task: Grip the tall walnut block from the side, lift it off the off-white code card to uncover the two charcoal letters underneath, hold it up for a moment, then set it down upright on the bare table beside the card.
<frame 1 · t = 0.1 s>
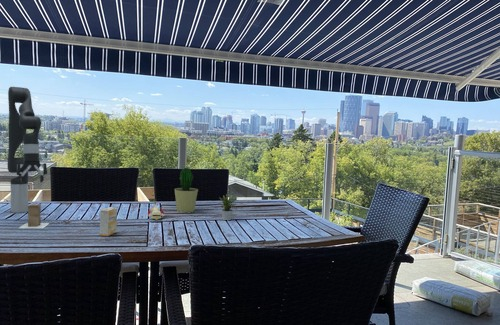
hand: (32, 182, 209), 22 cm above the table, tool pointing down, fingers open, 8 cm apart
cat figure: (155, 216, 241), on the table
walnut block: (34, 225, 205), resting on code card
house plant: (227, 220, 237), on the table
code card: (34, 225, 205), on the table
potted cactus: (185, 211, 258), on the table
supplement box: (108, 234, 196), on the table
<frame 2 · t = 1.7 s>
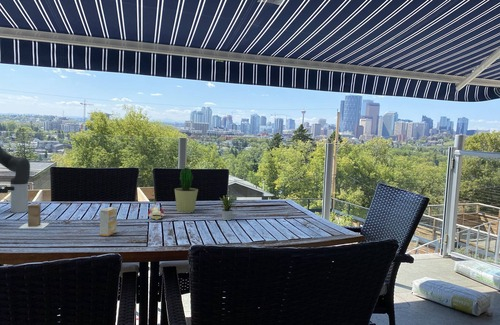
hand: (11, 189, 201), 19 cm above the table, tool horizontal, fingers open, 8 cm apart
nothing on the table moved.
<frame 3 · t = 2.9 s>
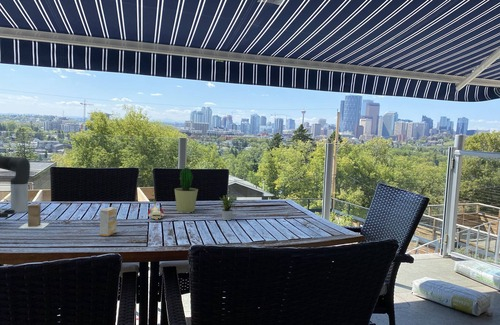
hand: (11, 213, 202), 7 cm above the table, tool horizontal, fingers open, 8 cm apart
nothing on the table moved.
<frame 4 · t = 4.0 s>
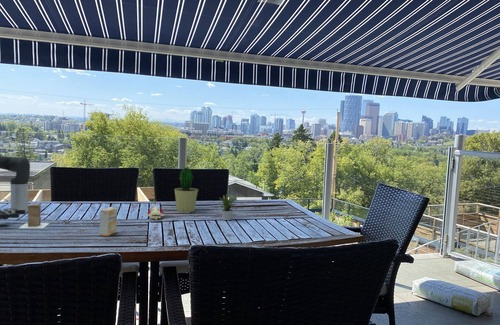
hand: (22, 213, 204), 7 cm above the table, tool horizontal, fingers open, 8 cm apart
nothing on the table moved.
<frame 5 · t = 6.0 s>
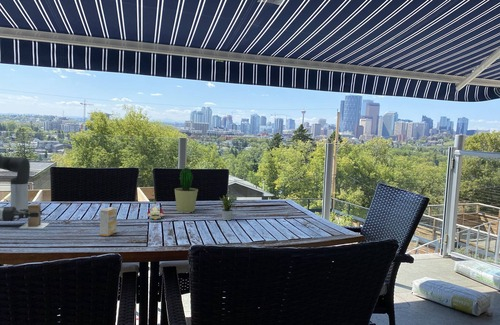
hand: (39, 213, 205), 7 cm above the table, tool horizontal, fingers closed on walnut block, 4 cm apart
walnut block: (34, 225, 205), resting on code card, touching gripper
everything else where it was.
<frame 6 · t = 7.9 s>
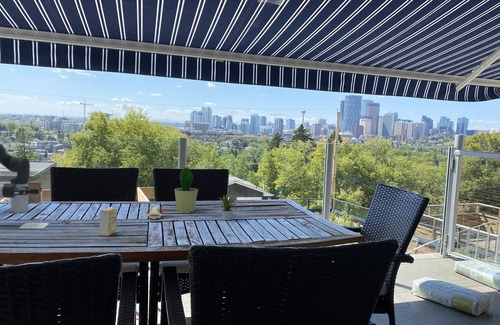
hand: (40, 190, 205), 19 cm above the table, tool horizontal, fingers closed on walnut block, 4 cm apart
walnut block: (34, 202, 205), point 13 cm above the table, touching gripper
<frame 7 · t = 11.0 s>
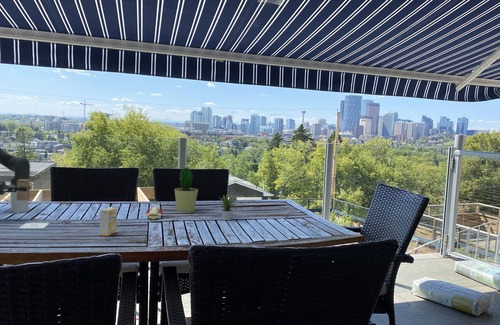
hand: (28, 188, 213), 18 cm above the table, tool horizontal, fingers closed on walnut block, 4 cm apart
walnut block: (23, 199, 213), point 12 cm above the table, touching gripper
when the fingers open (8 cm above the table, at t = 13.6 s): walnut block drops 2 cm, on the table.
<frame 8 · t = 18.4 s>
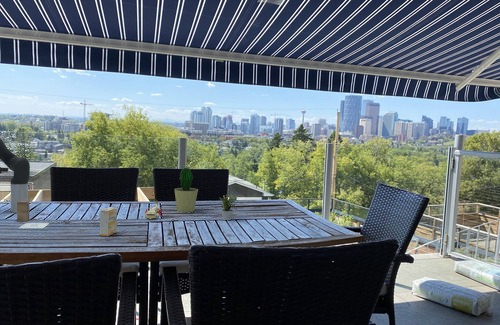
hand: (4, 170, 210), 28 cm above the table, tool horizontal, fingers open, 8 cm apart
walnut block: (23, 221, 214), on the table
at the end: walnut block inside the target area (0.1 cm from its centre), on the table; walnut block tilted 0°; walnut block touching table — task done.
